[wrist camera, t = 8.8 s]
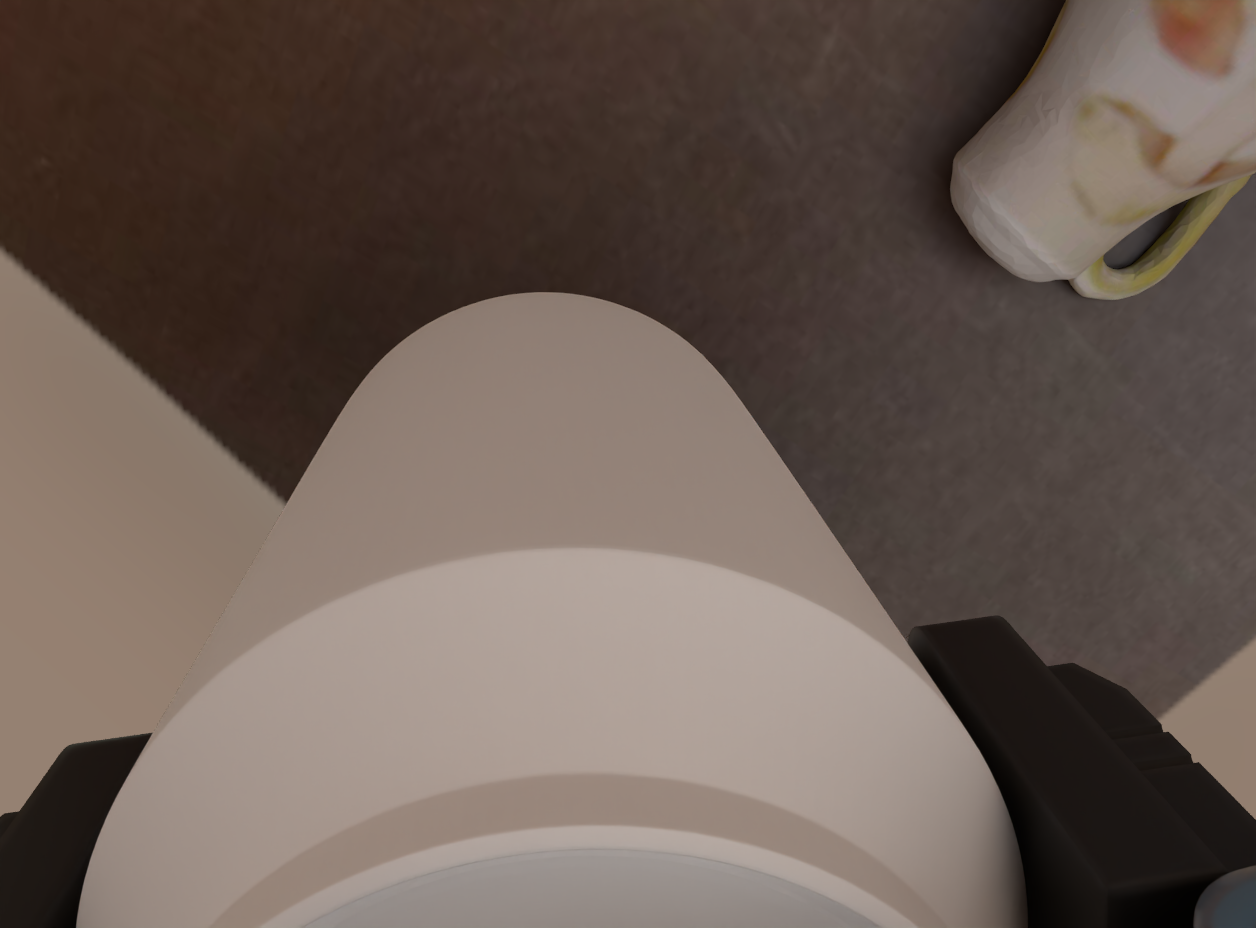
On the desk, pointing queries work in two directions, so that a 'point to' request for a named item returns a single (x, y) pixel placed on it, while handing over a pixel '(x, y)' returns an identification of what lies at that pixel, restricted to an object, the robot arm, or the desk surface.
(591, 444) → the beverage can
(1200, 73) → the mug
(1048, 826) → the robot arm
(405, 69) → the desk surface
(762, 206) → the desk surface
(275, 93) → the desk surface
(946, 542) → the desk surface
